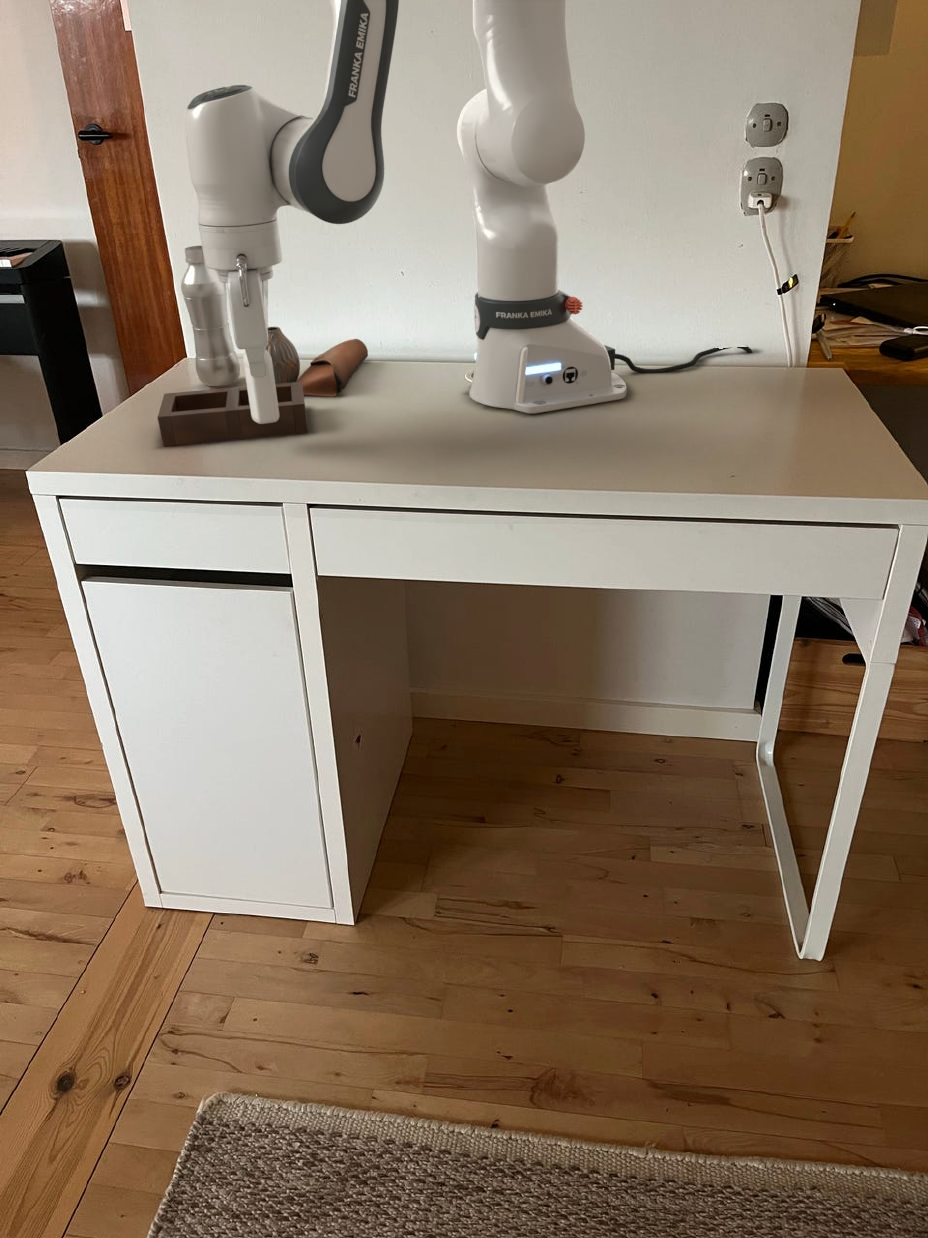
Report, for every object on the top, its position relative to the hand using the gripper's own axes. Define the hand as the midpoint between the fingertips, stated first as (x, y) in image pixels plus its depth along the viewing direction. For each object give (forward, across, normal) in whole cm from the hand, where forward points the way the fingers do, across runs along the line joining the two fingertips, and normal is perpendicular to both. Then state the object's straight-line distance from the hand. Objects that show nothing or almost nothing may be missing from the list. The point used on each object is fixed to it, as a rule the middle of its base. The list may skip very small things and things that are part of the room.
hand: (258, 367), depth 117 cm
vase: (+11, +27, -2) cm, 29 cm away
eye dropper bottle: (+6, 0, 0) cm, 6 cm away
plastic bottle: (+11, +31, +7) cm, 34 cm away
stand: (+11, +10, +4) cm, 15 cm away
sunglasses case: (+11, +29, -10) cm, 32 cm away
